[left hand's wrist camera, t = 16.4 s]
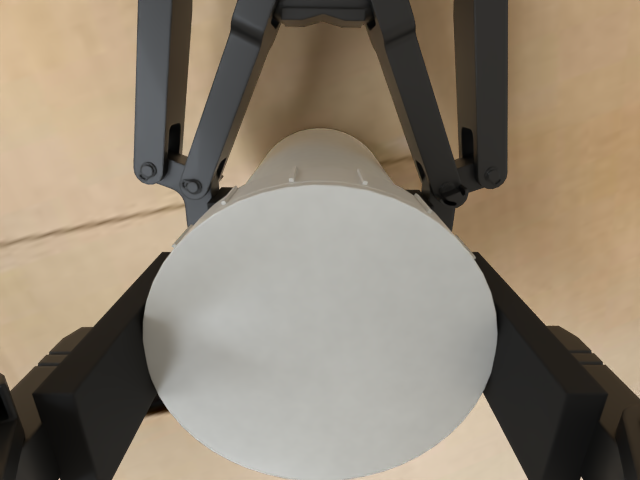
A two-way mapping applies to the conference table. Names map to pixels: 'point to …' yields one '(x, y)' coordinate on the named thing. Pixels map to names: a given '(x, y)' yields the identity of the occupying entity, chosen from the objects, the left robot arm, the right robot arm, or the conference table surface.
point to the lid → (320, 326)
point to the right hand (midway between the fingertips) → (318, 318)
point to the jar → (320, 154)
